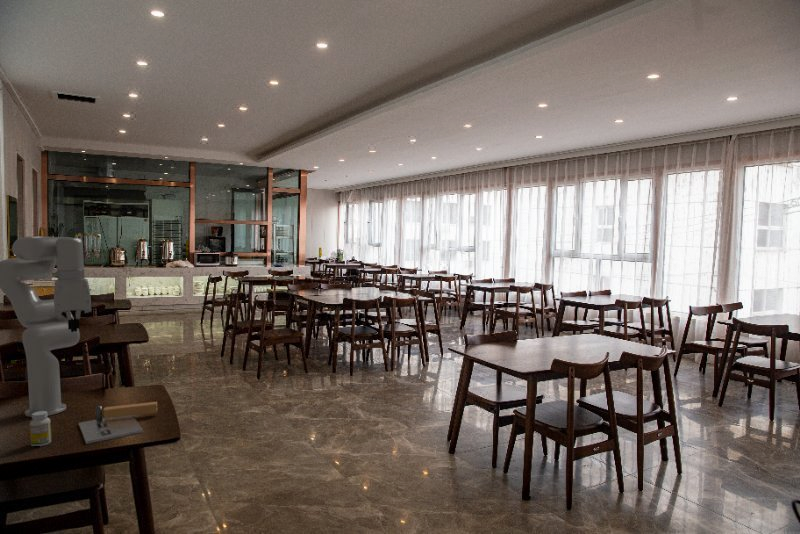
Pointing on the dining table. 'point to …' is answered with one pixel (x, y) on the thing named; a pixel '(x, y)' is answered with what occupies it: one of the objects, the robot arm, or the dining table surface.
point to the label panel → (108, 427)
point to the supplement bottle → (40, 429)
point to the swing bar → (130, 410)
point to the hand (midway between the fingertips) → (74, 331)
